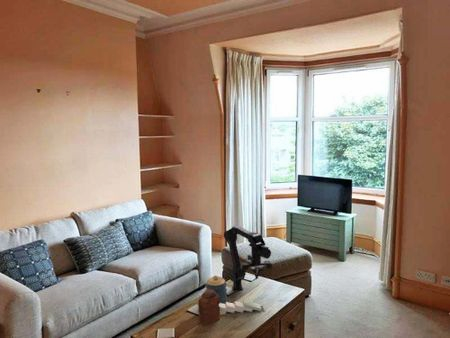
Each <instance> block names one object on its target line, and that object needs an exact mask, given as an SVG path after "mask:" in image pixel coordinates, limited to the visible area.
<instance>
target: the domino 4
mask: <svg viewBox="0 0 450 338" xmlns="http://www.w3.org/2000/svg"><path fill="white" fill-rule="evenodd" d="M242 303H243V306H244V307H245V308H249V309H253V310H257V311H261V307H260V306H261V305H260V304H259V303H255V302H252V301H247V300H243V301H242Z"/></svg>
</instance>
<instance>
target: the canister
mask: <svg viewBox="0 0 450 338" xmlns="http://www.w3.org/2000/svg"><path fill="white" fill-rule="evenodd" d="M227 285H228V284H227V283H226V280H225V278H223V277H221V276H218V275H214V276H211V277H209V278H208V279H207V280H206V283H205V286H204V287H205V290H204V292H205V291H206V290H214V291H215V292H216V293H217V295H219V299H220V303H223V304H226V302H228V297H227V296H228V295H227V291H228V290H227Z"/></svg>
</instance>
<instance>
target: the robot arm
mask: <svg viewBox="0 0 450 338" xmlns="http://www.w3.org/2000/svg"><path fill="white" fill-rule="evenodd" d="M238 236H240V237H243V238H245V239H246V240H247V241H248V242H249V244H248V246H249V247H251V248H250V250H251V251H250V252H251V254H248V255H247V257H246V258H247V261H250V263H248V262H241V260H240V255H239V251H238V246H237V240H238ZM223 238H224V240H225V242H226V244H228V247H229V252H230V257H231V262H232V270H231V273H232V274H230V276H229V280H230V282H232V286H231V288H232V290H233V292H235V291H244V289H243V286H242V285H243V284H242V283H243V282H242V281H243V280H244V279H245V278H246V271H248V270H249V269H250V271H251V272H253V275H254V276H255V279H256V280H257V279H258V278H259V275H260V274H261V272H262V271H263V270H264V268H263V267H265V268H266V269H272V268H273V264H272V262H271V261H270V260H268V259H270V257H271V256H272V250H271V249H270V248H269V247H268V246H266V243H265V240H264V239H263V236H262V235H261V234H260V233H258V232H252V231H249V229H248V230H247V229H245V228H244V227H242V226H241V225H234V226H232V227H231V228H230V229H228V230H225V231H224V233H223ZM262 258H264V259H266V260H264V261H263V262H262Z"/></svg>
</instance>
